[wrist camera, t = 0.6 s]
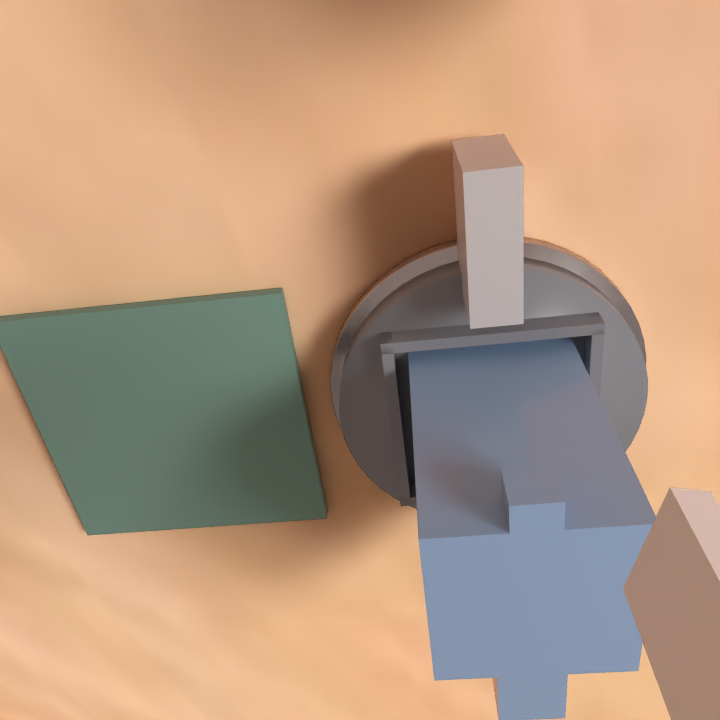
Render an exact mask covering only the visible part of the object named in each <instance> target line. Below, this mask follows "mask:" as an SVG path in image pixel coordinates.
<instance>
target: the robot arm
mask: <svg viewBox="0 0 720 720" xmlns="http://www.w3.org/2000/svg"><path fill="white" fill-rule="evenodd" d="M623 591H624V593H625V596H626V599H627V601H628V604H629V607H630V609H631V612H632V615H633V618H634V620H635V623H636V626H637V628H638V631H639V634H640V636H641V639H642V642H643V645H644V647H645V650H646V653H647V655H648V658H649V661H650V663H651V666H652V669H653V671H654V674H655V677H656V680H657V682H658V685H659V688H660V690H661V693H662V696H663V698H664V701H665V704H666V707H667V709H668V712H669V715H670V717H671V720H720V506H719V504H718V502H717V501H716V499H715V497H714V496H713V494H712V492H710V491H701V490H691V489H682V488H673V487H670V488H669V491H668V493H667V495H666V497H665V499H664V501H663V503H662V506H661V508H660V510H659V512H658V514H657V516H656V518H655V521H654V523H653V525H652V527H651V529H650V531H649V533H648V536H647V538H646V540H645V542H644V544H643V546H642V548H641V551H640V553H639V555H638V557H637V559H636V561H635V563H634V565H633V568H632V570H631V572H630V574H629V576H628V578H627V580H626V583H625V585H624V587H623Z"/></svg>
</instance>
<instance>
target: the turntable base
mask: <svg viewBox="0 0 720 720" xmlns="http://www.w3.org/2000/svg"><path fill="white" fill-rule="evenodd" d="M524 257H526V258H531V259H536V260H541V261H546V262H548V263H551V264H554V265H557V266H560V267H563V268H565V269H567V270H569V271H571V272H573V273H575V274H577V275H579V276H581V277H583V278H584V279H586V280H587V281H589V282H590V283H591V284H593V285H594V286H596V287H597V288H598V289H599V290H600V291H601V292H602V293H603V294H604V295H606V296H607V297H608V298H609V299H610V300H611V301H612V303H613V304H614V305H615V307H616V308H617V309H618V311H619V312H620V313H621V315H622V316H623V318H624V319H625V321H626V322H627V324H628V326H629V327H630V329H631V330H632V332H633V334H634V336H635V338H636V340H637V342H638V344H639V345H640V348H641V351H642V354H643V357H644V360H645V363H646V352H645V344H644V339H643V335H642V332H641V329H640V326H639V322H638V321H637V319H636V317H635V315H634V313H633V311H632V309H631V307H630V305H629V304H628V302H627V301H626V299H625V298H624V296H623V295H622V294H621V292H620V291H619V290H618V288H617V287H616V286H615V284H614V283H613V282H612V281H611V280H610V279H609V278H608V277H607V276H606V275H605V274H604V273H603V272H602V271H601V270H600V269H598V268H597V267H596V266H594V265H593V264H591V263H590V262H589V261H587V260H586V259H585V258H583V257H581V256H579V255H577V254H575V253H573V252H571V251H569V250H567V249H566V248H563V247H560V246H557V245H554V244H551V243H549V242H546V241H542V240H537V239H532V238H527V237H524ZM455 261H458V245H457V240H453V241H450V242H446V243H443V244H440V245H436V246H433V247H431V248H429V249H426V250H424V251H422V252H419V253H417V254H415V255H413V256H411V257H409V258H408V259H406V260H404V261H403V262H401V263H399V264H397V265H396V266H394V267H393V268H392V269H390V270H389V271H388V272H387V273H385V274H384V275H383V276H381V277H380V278H379V279H378V280H377V281H376V282H375V283H374V284H373V285H372V286H371V287H370V288H369V289H368V290H367V291H366V292H365V293H364V294H363V295H362V296H361V298H360V299H359V300H358V302H357V303H356V304H355V306H354V307H353V308H352V310H351V312H350V313H349V315H348V317H347V319H346V321H345V322H344V324H343V326H342V329H341V332H340V334H339V337H338V339H337V342H336V347H335V351H334V356H333V362H332V372H331V393H332V402H333V406H334V410H335V414H336V417H337V420H338V422H339V424H340V427H341V423H340V413H339V397H340V385H341V375H342V369H343V365H344V360H345V356H346V354H347V351H348V349H349V346H350V344H351V341H352V339H353V337H354V336H355V334H356V332H357V330H358V329H359V327H360V325H361V324H362V323H363V321H364V320H365V319H366V317H367V316H368V315H369V314H370V312H371V311H372V310H373V309H374V308H375V307H376V306H377V305H378V304H379V303H380V302H381V301H382V300H383V299H384V298H385V297H386V296H388V295H389V294H390V293H391V292H393V291H394V290H395V289H397V288H398V287H399V286H401V285H402V284H404V283H406V282H407V281H409V280H411V279H413V278H414V277H416V276H418V275H420V274H422V273H424V272H426V271H429V270H431V269H434V268H436V267H438V266H441V265H445V264H448V263H452V262H455ZM341 429H342V427H341Z"/></svg>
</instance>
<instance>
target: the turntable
mask: <svg viewBox="0 0 720 720" xmlns="http://www.w3.org/2000/svg"><path fill="white" fill-rule="evenodd" d="M452 153H453V172H454V190H455V208H456V227H457V245H458V261H455V262H452V263H448V264H445V265H441V266H438V267H436V268H434V269H431V270H429V271H426V272H424V273H422V274H420V275H418V276H416V277H414V278H413V279H411V280H409V281H407V282H406V283H404V284H402V285H401V286H399V287H398V288H397V289H395V290H394V291H393V292H391V293H390V294H389V295H388V296H386V297H385V298H384V299H383V300H382V301H381V302H380V303H379V304H378V305H377V306H376V307H375V308H374V309H373V310H372V311H371V312H370V314H369V315H368V316H367V317H366V319H365V320H364V321H363V323H362V324H361V325H360V327H359V329H358V330H357V332H356V334H355V336H354V337H353V339H352V341H351V344H350V346H349V349H348V351H347V354H346V356H345V360H344V365H343V369H342V375H341V385H340V397H339V413H340V423H341V427H342V431H343V435H344V438H345V441H346V443H347V445H348V448H349V450H350V452H351V454H352V455H353V457H354V459H355V460H356V462H357V463H358V465H359V466H360V468H361V469H362V470H363V471H364V472H365V473H366V475H367V476H368V477H369V478H370V479H371V480H372V481H373V482H374V483H375V484H377V485H378V486H379V487H380V488H381V489H382V490H384V491H385V492H387V493H388V494H390V495H391V496H392V497H394V498H396V499H398V500H399V501H400V503H401V506H411V507H414V508H416V509H417V501H416V484H415V466H414V448H413V430H412V412H411V395H410V377H409V359H408V352H415V351H426V350H436V349H447V348H458V347H469V346H480V345H491V344H502V343H513V342H524V341H535V340H546V339H557V338H568V337H571V338H572V341H573V343H574V345H575V347H576V349H577V351H578V353H579V355H580V357H581V360H582V362H583V364H584V366H585V368H586V370H587V372H588V374H589V376H590V379H591V381H592V383H593V385H594V387H595V389H596V391H597V393H598V395H599V398H600V400H601V402H602V404H603V406H604V408H605V410H606V412H607V414H608V417H609V419H610V421H611V423H612V425H613V427H614V429H615V431H616V434H617V436H618V438H619V440H620V442H621V444H622V446H623V448H624V450H625V452H626V450H627V449H628V447H629V446H630V445H631V443H632V441H633V439H634V437H635V435H636V433H637V431H638V429H639V427H640V424H641V421H642V418H643V415H644V412H645V407H646V402H647V393H648V378H647V370H646V363H645V360H644V357H643V354H642V351H641V348H640V345H639V344H638V342H637V340H636V338H635V336H634V334H633V332H632V330H631V329H630V327H629V326H628V324H627V322H626V321H625V319H624V318H623V316H622V315H621V313H620V312H619V311H618V309H617V308H616V307H615V305H614V304H613V303H612V301H611V300H610V299H609V298H608V297H607V296H606V295H604V294H603V293H602V292H601V291H600V290H599V289H598V288H597V287H596V286H594V285H593V284H591V283H590V282H589V281H587V280H586V279H584V278H583V277H581V276H579V275H577V274H575V273H573V272H571V271H569V270H567V269H565V268H563V267H560V266H557V265H554V264H551V263H548V262H546V261H541V260H536V259H531V258H526V257H524V191H523V164H522V162H521V161H520V159H519V158H518V156H517V154H516V153H515V151H514V150H513V148H512V146H511V145H510V143H509V142H508V140H507V138H506V137H505V135H504V134H499V135H491V136H482V137H474V138H466V139H457V140H452Z"/></svg>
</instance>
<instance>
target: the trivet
mask: <svg viewBox="0 0 720 720" xmlns="http://www.w3.org/2000/svg"><path fill="white" fill-rule="evenodd" d="M0 347H1V349H2V352H3V354H4V356H5V358H6V360H7V362H8V365H9V367H10V369H11V371H12V373H13V375H14V378H15V380H16V382H17V384H18V386H19V388H20V390H21V393H22V395H23V397H24V399H25V401H26V403H27V406H28V408H29V410H30V412H31V414H32V416H33V419H34V421H35V423H36V425H37V427H38V429H39V432H40V434H41V436H42V438H43V440H44V442H45V444H46V447H47V449H48V451H49V453H50V455H51V457H52V460H53V462H54V464H55V466H56V468H57V470H58V473H59V475H60V477H61V479H62V481H63V483H64V485H65V488H66V490H67V492H68V494H69V496H70V498H71V501H72V503H73V505H74V507H75V509H76V511H77V514H78V516H79V518H80V520H81V522H82V524H83V526H84V529H85V531H86V533H87V535H99V534H114V533H128V532H142V531H157V530H171V529H185V528H200V527H214V526H229V525H243V524H257V523H272V522H286V521H300V520H315V519H327V513H328V510H327V505H326V500H325V495H324V490H323V485H322V480H321V476H320V471H319V466H318V461H317V456H316V451H315V446H314V441H313V436H312V431H311V426H310V421H309V417H308V412H307V407H306V402H305V397H304V392H303V387H302V382H301V377H300V372H299V367H298V362H297V358H296V353H295V348H294V343H293V338H292V333H291V328H290V323H289V318H288V313H287V308H286V303H285V299H284V294H283V289H282V288H274V289H264V290H254V291H244V292H234V293H224V294H215V295H205V296H195V297H185V298H175V299H166V300H156V301H146V302H136V303H126V304H116V305H107V306H97V307H87V308H77V309H67V310H58V311H48V312H38V313H28V314H18V315H8V316H0Z"/></svg>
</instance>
